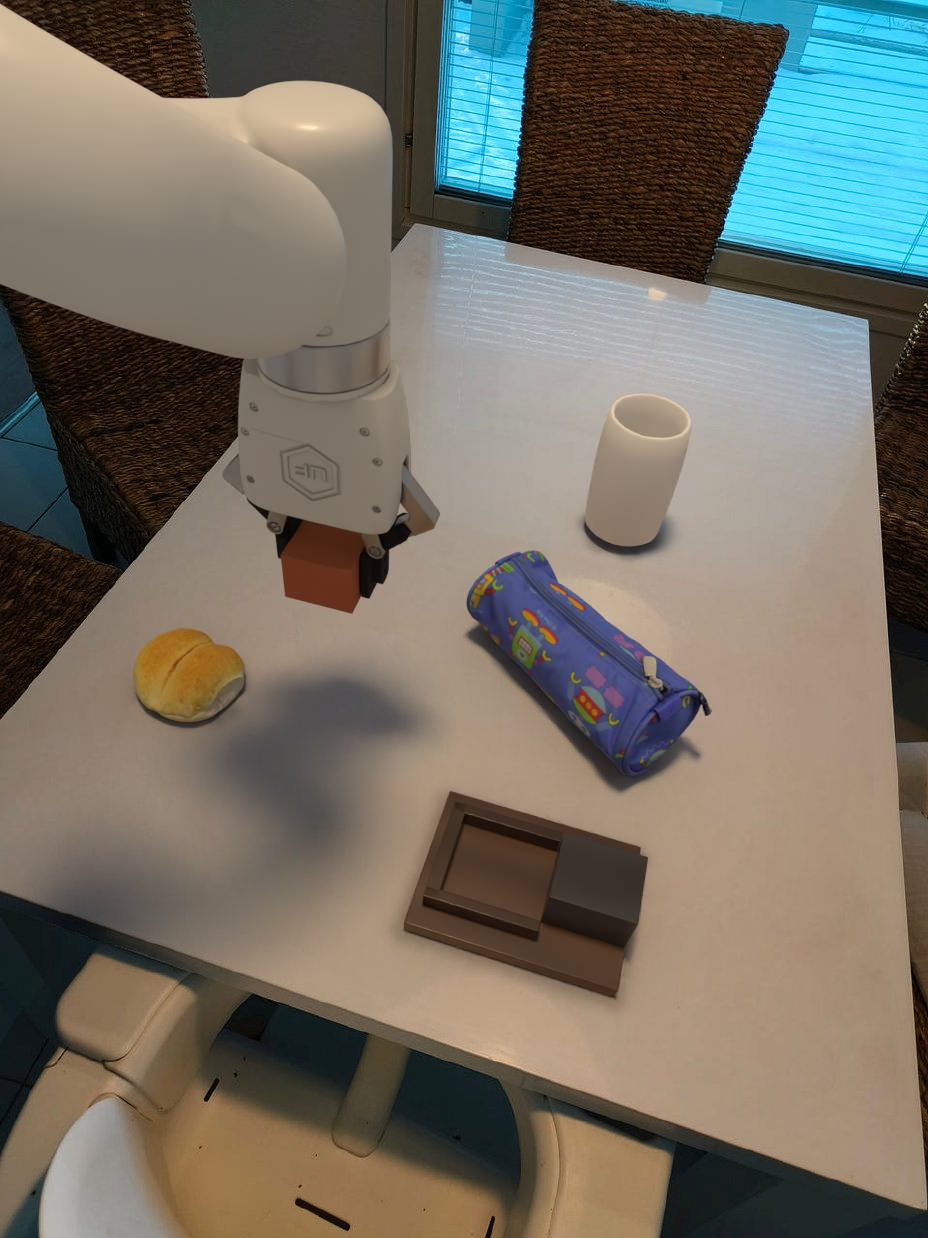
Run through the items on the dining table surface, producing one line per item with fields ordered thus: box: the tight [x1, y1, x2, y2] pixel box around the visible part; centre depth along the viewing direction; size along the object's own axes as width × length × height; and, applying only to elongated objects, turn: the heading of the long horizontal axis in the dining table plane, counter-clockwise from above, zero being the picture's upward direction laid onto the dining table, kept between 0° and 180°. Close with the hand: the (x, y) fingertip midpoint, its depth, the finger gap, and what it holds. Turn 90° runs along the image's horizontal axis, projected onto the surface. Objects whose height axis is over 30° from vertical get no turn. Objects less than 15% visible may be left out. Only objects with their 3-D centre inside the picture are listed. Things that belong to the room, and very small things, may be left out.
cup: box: [584, 393, 693, 547], centre depth 85 cm, size 8×8×14 cm
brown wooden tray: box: [403, 790, 649, 997], centre depth 60 cm, size 11×15×5 cm
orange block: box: [280, 520, 364, 615], centre depth 60 cm, size 5×6×4 cm
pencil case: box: [465, 549, 713, 776], centre depth 71 cm, size 22×9×10 cm, turn 37°
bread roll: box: [132, 627, 245, 723], centre depth 71 cm, size 8×9×4 cm
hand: (333, 573), depth 61 cm, fingers closed on orange block, 5 cm apart
